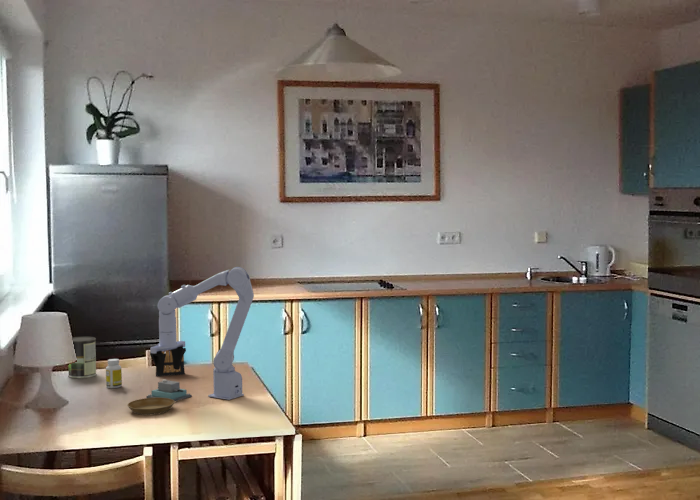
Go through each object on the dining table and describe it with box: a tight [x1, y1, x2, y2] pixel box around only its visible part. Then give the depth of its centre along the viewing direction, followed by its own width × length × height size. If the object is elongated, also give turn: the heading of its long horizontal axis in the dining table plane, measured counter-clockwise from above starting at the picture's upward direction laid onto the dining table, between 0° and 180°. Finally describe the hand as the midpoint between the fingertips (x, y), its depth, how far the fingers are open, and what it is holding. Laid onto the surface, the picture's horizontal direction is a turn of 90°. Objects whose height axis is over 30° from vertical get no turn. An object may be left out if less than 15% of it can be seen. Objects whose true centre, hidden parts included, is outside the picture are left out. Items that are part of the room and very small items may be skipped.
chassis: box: [146, 388, 193, 402], centre depth 290 cm, size 12×9×2 cm
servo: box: [157, 378, 183, 393], centre depth 289 cm, size 11×4×5 cm, turn 57°
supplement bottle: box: [105, 358, 123, 389], centre depth 305 cm, size 5×5×10 cm
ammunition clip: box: [155, 350, 186, 377], centre depth 325 cm, size 11×2×12 cm, turn 107°
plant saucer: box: [127, 397, 176, 416], centre depth 273 cm, size 15×15×3 cm
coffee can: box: [67, 336, 97, 379], centre depth 324 cm, size 10×10×14 cm
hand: (168, 371), depth 289 cm, fingers open, 7 cm apart
